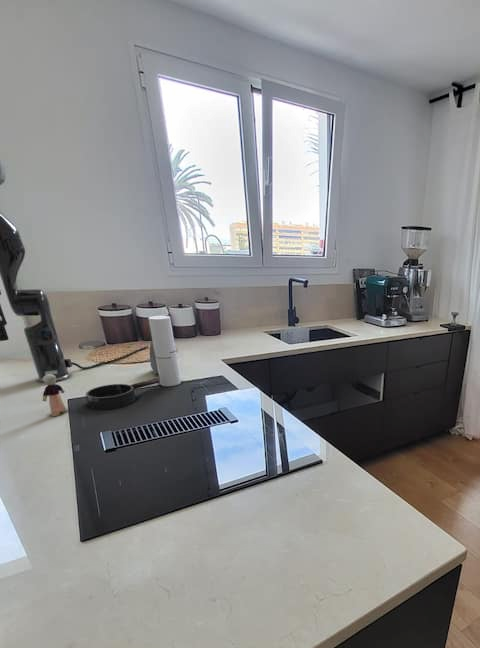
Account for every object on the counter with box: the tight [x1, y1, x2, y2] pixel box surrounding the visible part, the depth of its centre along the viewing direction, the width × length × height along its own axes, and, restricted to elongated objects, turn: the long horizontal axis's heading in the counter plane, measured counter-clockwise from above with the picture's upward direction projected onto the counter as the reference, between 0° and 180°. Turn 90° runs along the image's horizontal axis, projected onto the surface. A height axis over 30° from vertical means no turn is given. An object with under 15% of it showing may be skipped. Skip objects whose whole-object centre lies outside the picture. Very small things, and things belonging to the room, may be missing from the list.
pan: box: [85, 383, 136, 410], centre depth 132 cm, size 14×14×4 cm
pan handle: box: [129, 377, 160, 390], centre depth 140 cm, size 11×2×2 cm, turn 145°
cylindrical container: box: [147, 315, 182, 387], centre depth 146 cm, size 7×7×25 cm
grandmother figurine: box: [41, 374, 67, 417], centre depth 121 cm, size 8×4×13 cm, turn 5°
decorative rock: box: [148, 340, 159, 376], centre depth 159 cm, size 16×7×15 cm, turn 36°
